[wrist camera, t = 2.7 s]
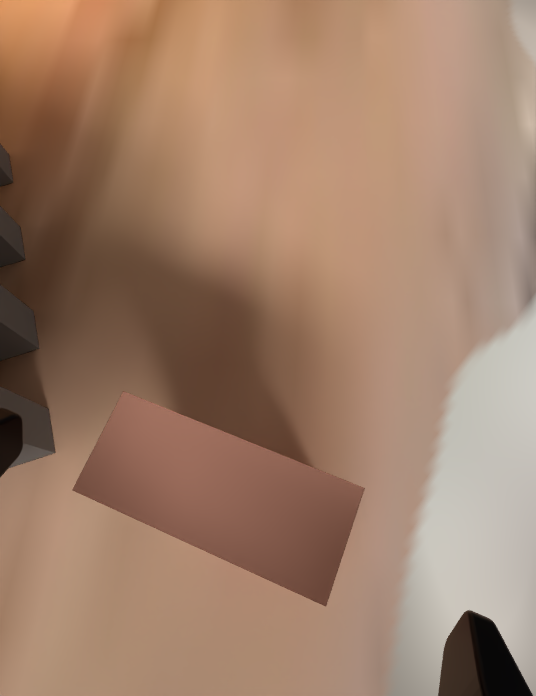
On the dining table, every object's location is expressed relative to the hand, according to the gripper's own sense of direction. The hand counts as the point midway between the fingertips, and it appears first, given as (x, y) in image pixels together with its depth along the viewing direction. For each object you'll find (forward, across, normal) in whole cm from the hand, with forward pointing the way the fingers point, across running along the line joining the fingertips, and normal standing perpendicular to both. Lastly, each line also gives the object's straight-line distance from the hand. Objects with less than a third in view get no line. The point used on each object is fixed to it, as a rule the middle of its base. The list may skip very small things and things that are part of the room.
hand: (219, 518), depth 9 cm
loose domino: (+6, 0, +6) cm, 9 cm away
